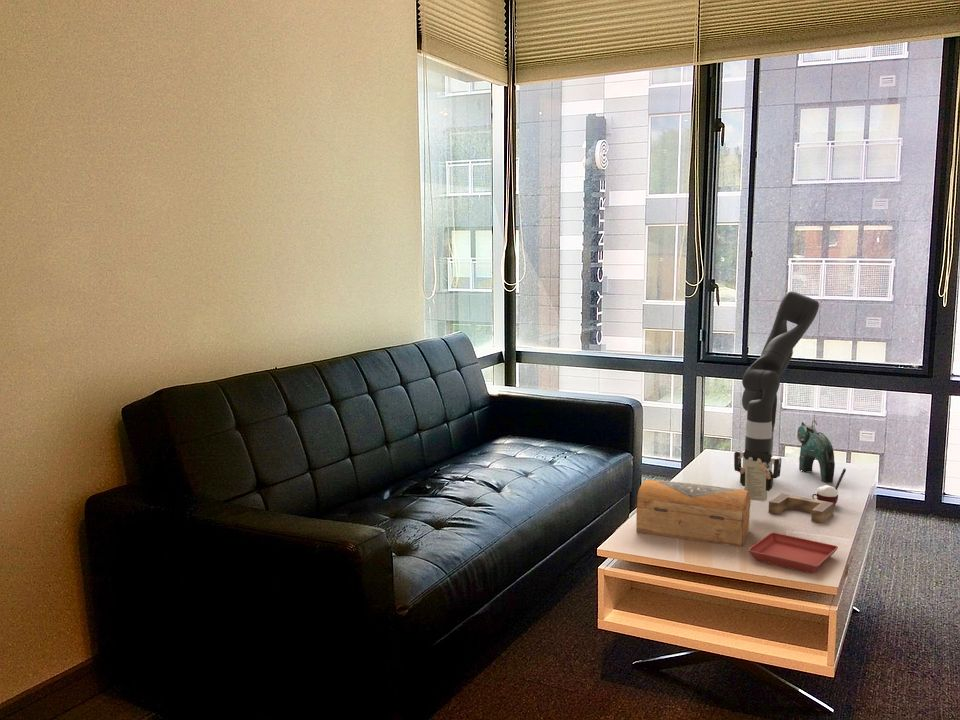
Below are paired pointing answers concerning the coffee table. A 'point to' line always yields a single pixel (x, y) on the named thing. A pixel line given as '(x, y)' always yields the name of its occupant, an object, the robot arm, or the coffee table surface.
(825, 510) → the wooden u-shaped block
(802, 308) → the robot arm
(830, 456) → the ceramic cat
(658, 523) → the wooden box
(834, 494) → the cocoa
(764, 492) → the skincare box
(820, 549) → the plant saucer
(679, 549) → the coffee table surface
